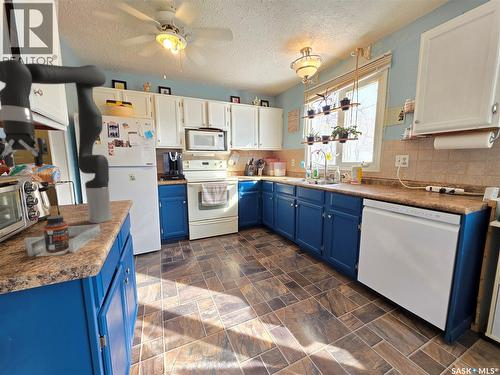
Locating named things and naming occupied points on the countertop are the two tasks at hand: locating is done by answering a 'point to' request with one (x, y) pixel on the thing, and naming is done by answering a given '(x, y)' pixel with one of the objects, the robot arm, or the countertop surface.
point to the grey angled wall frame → (80, 239)
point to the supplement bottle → (56, 234)
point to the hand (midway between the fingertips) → (24, 166)
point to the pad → (52, 253)
